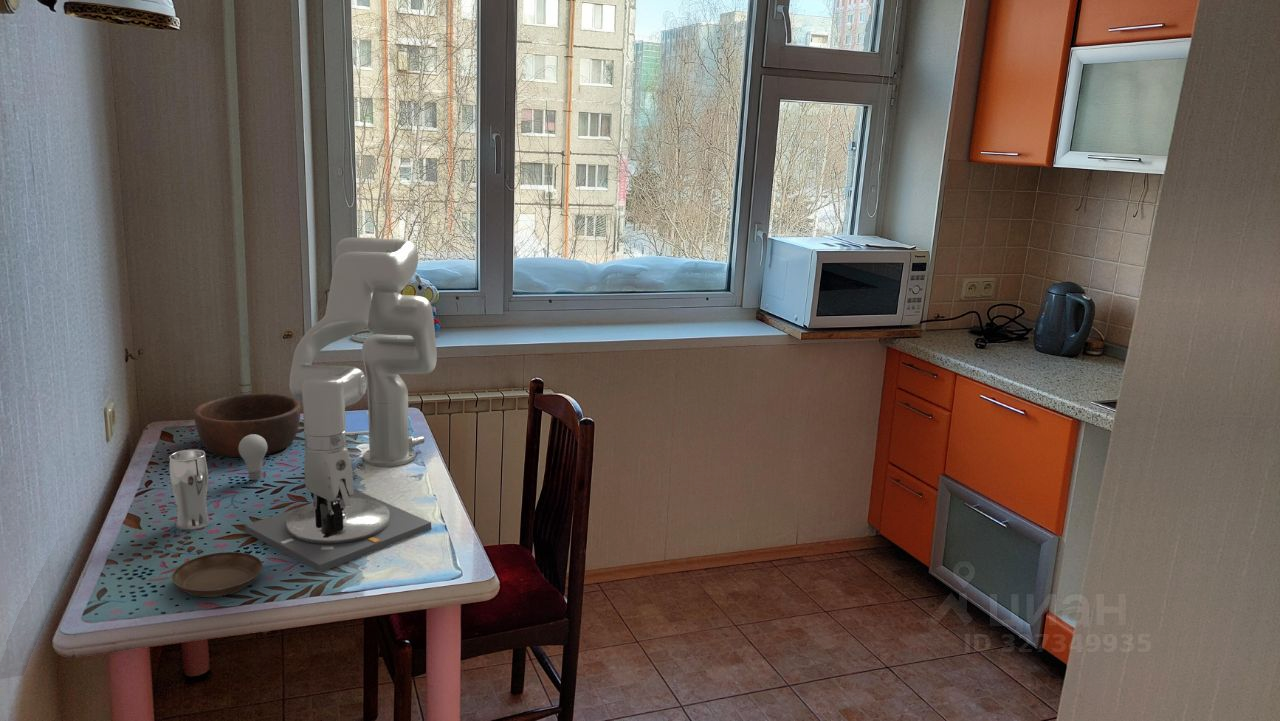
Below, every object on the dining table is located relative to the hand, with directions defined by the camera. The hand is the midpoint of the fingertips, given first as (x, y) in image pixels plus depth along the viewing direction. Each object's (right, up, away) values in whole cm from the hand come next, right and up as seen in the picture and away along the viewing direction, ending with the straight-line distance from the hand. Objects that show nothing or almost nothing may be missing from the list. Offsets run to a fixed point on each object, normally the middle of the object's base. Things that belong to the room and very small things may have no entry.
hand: (329, 527), depth 179 cm
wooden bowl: (-39, +11, +55) cm, 68 cm away
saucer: (-15, -7, -15) cm, 22 cm away
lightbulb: (-28, +5, +32) cm, 43 cm away
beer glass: (-31, -1, +8) cm, 32 cm away
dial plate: (-1, -2, +8) cm, 8 cm away
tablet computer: (-20, +15, +74) cm, 77 cm away
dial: (-1, 0, +7) cm, 7 cm away
